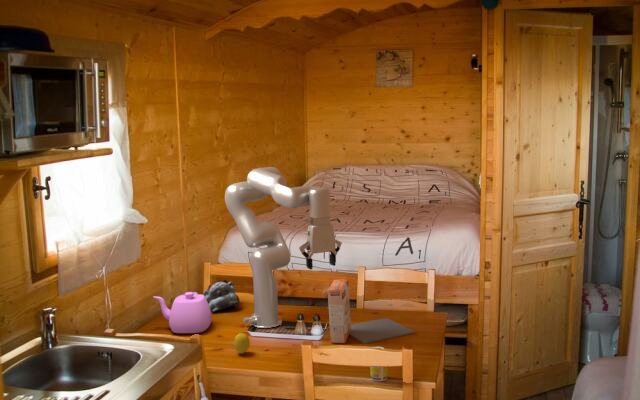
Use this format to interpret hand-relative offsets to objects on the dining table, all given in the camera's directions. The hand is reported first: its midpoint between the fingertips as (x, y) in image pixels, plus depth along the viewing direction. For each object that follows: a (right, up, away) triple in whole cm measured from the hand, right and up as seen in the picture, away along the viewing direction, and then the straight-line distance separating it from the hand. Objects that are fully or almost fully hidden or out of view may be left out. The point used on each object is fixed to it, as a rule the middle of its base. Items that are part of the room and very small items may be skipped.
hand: (321, 266), depth 258 cm
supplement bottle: (+19, -34, -32) cm, 50 cm away
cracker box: (+8, -28, +7) cm, 30 cm away
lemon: (-29, -31, -7) cm, 43 cm away
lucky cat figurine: (-44, -23, +47) cm, 69 cm away
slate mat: (+21, -27, +15) cm, 37 cm away
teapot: (-53, -27, +21) cm, 63 cm away
